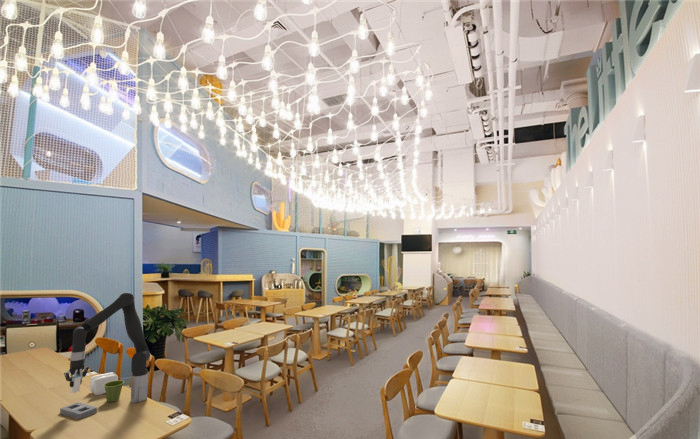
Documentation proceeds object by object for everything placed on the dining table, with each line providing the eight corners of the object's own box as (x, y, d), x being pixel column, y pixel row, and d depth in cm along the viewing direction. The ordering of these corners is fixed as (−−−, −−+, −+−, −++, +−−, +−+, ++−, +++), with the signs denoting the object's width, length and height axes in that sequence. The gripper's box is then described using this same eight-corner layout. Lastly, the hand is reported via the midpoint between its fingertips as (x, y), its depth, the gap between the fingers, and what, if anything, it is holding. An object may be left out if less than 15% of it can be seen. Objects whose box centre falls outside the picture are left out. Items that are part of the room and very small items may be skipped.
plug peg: (79, 391, 222) (81, 375, 223) (73, 393, 219) (74, 377, 220) (76, 390, 223) (77, 374, 224) (70, 392, 220) (71, 376, 221)
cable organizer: (92, 396, 243) (93, 379, 244) (89, 392, 250) (90, 376, 251) (117, 390, 253) (118, 374, 255) (113, 386, 261) (114, 371, 262)
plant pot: (101, 405, 229) (102, 387, 230) (104, 398, 239) (105, 382, 240) (122, 401, 234) (123, 384, 235) (124, 395, 245) (125, 379, 246)
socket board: (96, 412, 219) (97, 407, 219) (79, 419, 209) (79, 413, 210) (77, 407, 226) (77, 401, 227) (59, 413, 217) (60, 408, 217)
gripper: (68, 362, 215) (66, 390, 214) (93, 356, 228) (90, 383, 226) (61, 360, 218) (59, 388, 216) (86, 354, 231) (84, 381, 229)
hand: (75, 385), depth 222 cm, fingers closed on plug peg, 3 cm apart
